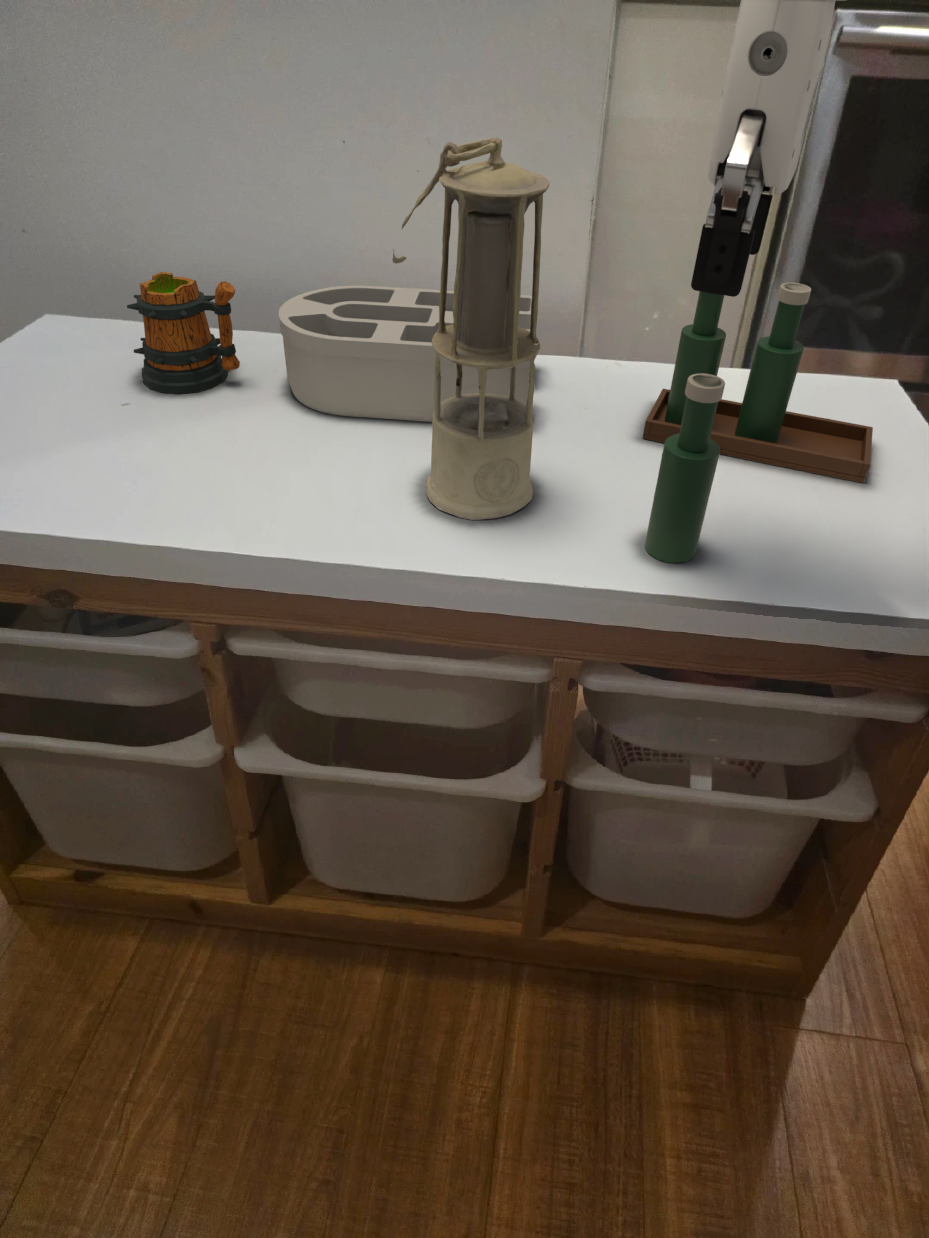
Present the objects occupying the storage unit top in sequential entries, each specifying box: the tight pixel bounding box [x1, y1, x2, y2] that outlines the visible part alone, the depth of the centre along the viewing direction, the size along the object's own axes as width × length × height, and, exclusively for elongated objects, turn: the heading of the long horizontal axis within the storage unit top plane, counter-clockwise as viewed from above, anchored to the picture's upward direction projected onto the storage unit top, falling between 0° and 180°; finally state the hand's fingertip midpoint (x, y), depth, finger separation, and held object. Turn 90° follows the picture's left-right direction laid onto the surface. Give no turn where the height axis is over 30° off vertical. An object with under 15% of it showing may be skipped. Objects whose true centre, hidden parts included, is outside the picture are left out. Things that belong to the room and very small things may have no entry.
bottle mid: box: [735, 282, 812, 443], centre depth 85 cm, size 4×4×16 cm
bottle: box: [644, 374, 726, 564], centre depth 70 cm, size 4×4×16 cm
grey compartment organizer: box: [278, 284, 540, 423], centre depth 96 cm, size 17×28×9 cm, turn 84°
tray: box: [642, 388, 874, 484], centre depth 90 cm, size 22×9×2 cm, turn 68°
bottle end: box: [665, 291, 727, 425], centre depth 87 cm, size 4×4×16 cm
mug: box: [126, 271, 241, 395], centre depth 96 cm, size 13×10×12 cm
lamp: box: [391, 136, 550, 521], centre depth 72 cm, size 10×13×30 cm
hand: (726, 270), depth 60 cm, fingers open, 9 cm apart
